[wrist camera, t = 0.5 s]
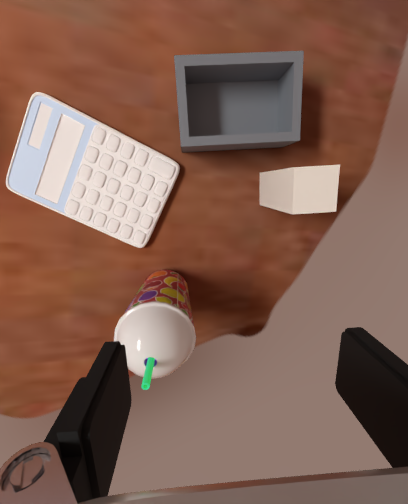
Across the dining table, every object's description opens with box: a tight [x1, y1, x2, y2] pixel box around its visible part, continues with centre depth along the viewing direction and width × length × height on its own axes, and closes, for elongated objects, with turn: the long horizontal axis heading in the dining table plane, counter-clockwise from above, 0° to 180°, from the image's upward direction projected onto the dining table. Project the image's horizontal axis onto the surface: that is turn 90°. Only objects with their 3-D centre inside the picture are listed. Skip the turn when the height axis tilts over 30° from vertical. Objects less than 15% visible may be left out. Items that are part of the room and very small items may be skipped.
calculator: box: [6, 92, 180, 248], centre depth 34 cm, size 13×20×2 cm, turn 64°
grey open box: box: [174, 51, 304, 152], centre depth 31 cm, size 9×14×6 cm, turn 93°
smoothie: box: [114, 270, 196, 390], centre depth 30 cm, size 8×8×20 cm
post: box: [260, 165, 340, 214], centre depth 31 cm, size 4×4×12 cm
